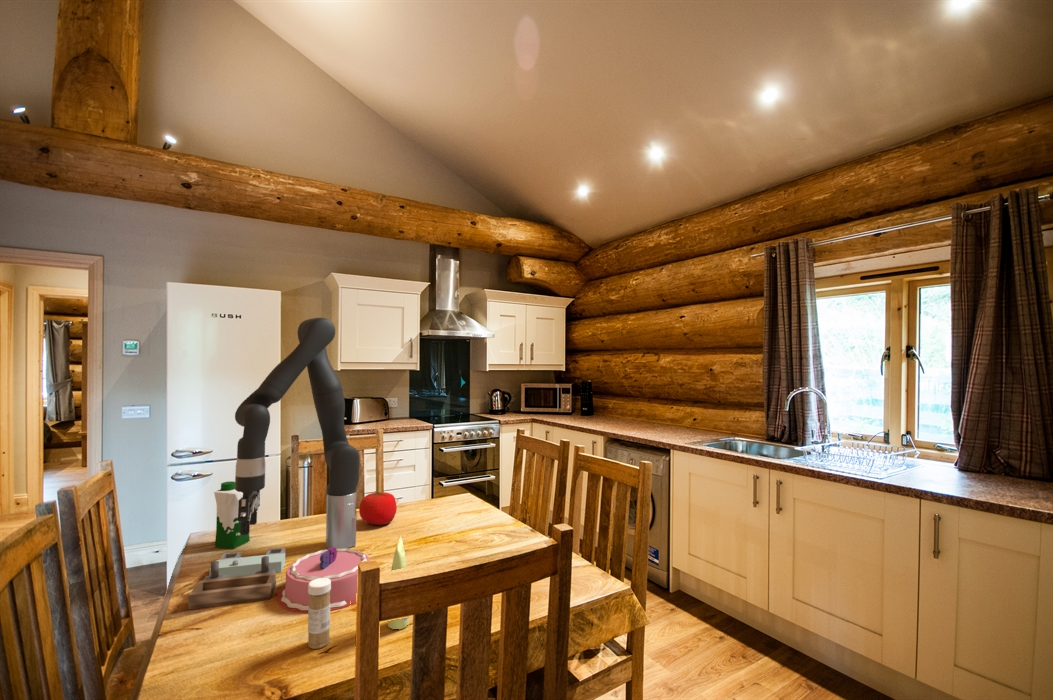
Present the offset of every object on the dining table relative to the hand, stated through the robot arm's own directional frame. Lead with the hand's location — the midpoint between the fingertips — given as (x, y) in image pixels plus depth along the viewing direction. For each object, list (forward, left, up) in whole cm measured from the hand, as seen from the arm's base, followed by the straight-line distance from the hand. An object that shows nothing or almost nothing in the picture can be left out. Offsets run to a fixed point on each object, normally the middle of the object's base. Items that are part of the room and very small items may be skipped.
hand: (248, 529), depth 140 cm
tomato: (-36, -32, -13) cm, 50 cm away
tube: (-40, +40, -12) cm, 58 cm away
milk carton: (+10, -24, -13) cm, 29 cm away
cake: (-23, +17, -13) cm, 31 cm away
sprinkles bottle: (-23, +43, -12) cm, 50 cm away
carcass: (0, +14, -12) cm, 18 cm away
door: (0, -2, -12) cm, 12 cm away
